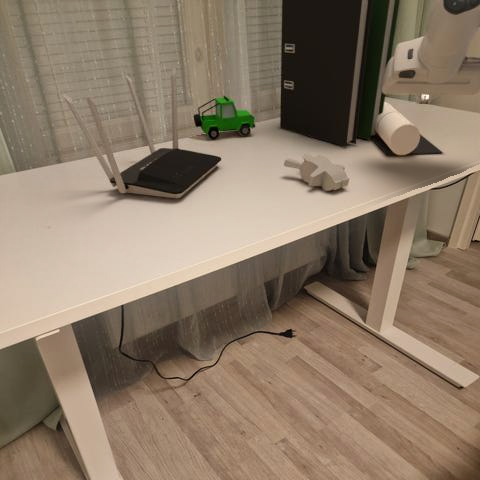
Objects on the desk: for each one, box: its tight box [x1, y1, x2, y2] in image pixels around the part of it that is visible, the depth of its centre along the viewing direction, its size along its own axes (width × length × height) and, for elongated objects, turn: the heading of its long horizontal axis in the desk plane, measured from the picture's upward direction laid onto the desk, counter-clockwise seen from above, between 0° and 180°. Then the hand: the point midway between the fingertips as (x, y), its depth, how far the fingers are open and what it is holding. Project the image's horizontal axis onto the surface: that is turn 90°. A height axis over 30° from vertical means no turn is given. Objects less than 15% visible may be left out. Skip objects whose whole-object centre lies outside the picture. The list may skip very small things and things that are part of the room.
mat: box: [370, 134, 443, 157], centre depth 115 cm, size 14×22×1 cm, turn 1°
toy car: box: [193, 95, 256, 141], centre depth 123 cm, size 8×17×10 cm, turn 104°
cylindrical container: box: [375, 101, 421, 156], centre depth 113 cm, size 7×7×25 cm
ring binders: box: [279, 0, 401, 147], centre depth 114 cm, size 27×15×32 cm, turn 34°
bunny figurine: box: [283, 153, 350, 192], centre depth 93 cm, size 10×5×15 cm
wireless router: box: [62, 67, 222, 199], centre depth 93 cm, size 34×23×20 cm
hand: (423, 101), depth 98 cm, fingers closed
